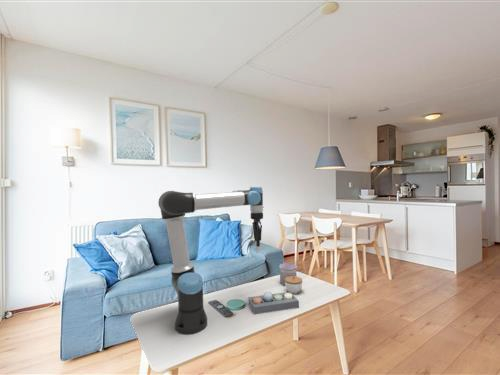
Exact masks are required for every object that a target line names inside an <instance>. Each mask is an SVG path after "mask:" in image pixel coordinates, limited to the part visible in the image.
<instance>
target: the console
mask: <svg viewBox="0 0 500 375" xmlns="http://www.w3.org/2000/svg"><path fill="white" fill-rule="evenodd" d="M285 293H291V292H289V291H287V292H286V291H285V292H278V293H272V301H271V302H265V301H264V294H263V295H257V296H249V297H248V305H249V307H250V309H251V311H252V313H253V314H254V315H256V314H257V315H258V314H259V315H260V314H264V313H271V312H277V311H283V310H290V309H296V308H299V307H300V301H299V300H298V298H297V297H296V296H295V294H292V293H291V294H292V299H285V298H284V294H285ZM276 294H280V295H282V300H280V301H275V300H274V295H276ZM255 297H260V298H261V303H259V304H254V303H253V298H255Z"/></svg>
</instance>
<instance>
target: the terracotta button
mask: <svg viewBox="0 0 500 375" xmlns="http://www.w3.org/2000/svg"><path fill="white" fill-rule="evenodd" d="M254 297H255V296H254ZM253 303H254V304H259V303H261V298H260V297H255V298H253Z"/></svg>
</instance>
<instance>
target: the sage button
mask: <svg viewBox="0 0 500 375" xmlns="http://www.w3.org/2000/svg"><path fill="white" fill-rule="evenodd" d="M275 294H276V295H274V300H275V301H280V300H282V295H280V294H277V293H275Z"/></svg>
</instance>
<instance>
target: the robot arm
mask: <svg viewBox="0 0 500 375" xmlns="http://www.w3.org/2000/svg"><path fill="white" fill-rule="evenodd" d="M263 192H264V191H263V187H262V186H250V187H249V189H247V190H246V189H245V190H232V191H230V192H229V191H226V192H215V193H212V192H211V193H210V192H209V193H200V194H199V193H197V194H196V193H194V192H181V191H176V190H167V191H165V192H163V193H162V194H161V196H159V198H158V201H157V202H158V207H159V209H160V213H161V219H162V220H163V221H164V222H165V224H166V231H167V236H168V242H169V249H170V254H171V260H172V265H173V266H172V268H171V269H170V274H171V284H172V287H173V289H174V291H175V292H176V294H177V300H178V301H177V303H178V305H177V306H178V311H177V315H176V318H175V321H174V328H175V331H176V332H177V331H178V332H177V333H179V334H183V335H191V334H192V335H193V334H195V333H200V332H201V331H203V330H204V329H205V328H206V327H207V326H208V316H207V314H206V311H205V308H204V280H203V277H202V276H201V274H200V273H196V272H195V267H194V264H193V263H191V260H190V255H189V254H190V253H189V248H188V242H187V236H186V235H187V234H186V229H185V223H184V218H185V216H186V214H192V213H195V212H196V211H200V210H209V209H219V208H231V207H241V206H249V207H250V209H249V210H250V220H253V222H252V230H253V231H252V232H253V239H254V252H256V253H259V252H261V241H262V231H263V230H262V229H263V225H262V222H261V220H263V219H264V213H263V212H264V208H265V207H264V205H263V204H264V201H263V200H264V199H263V198H264V196H263V195H264V193H263Z"/></svg>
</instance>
